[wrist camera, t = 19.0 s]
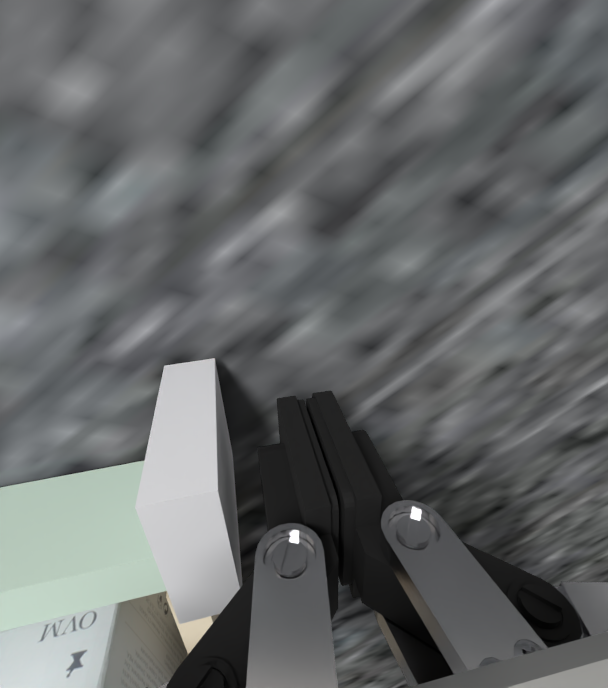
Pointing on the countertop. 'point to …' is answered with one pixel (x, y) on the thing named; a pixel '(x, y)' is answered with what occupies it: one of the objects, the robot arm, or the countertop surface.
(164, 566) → the gate
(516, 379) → the countertop surface
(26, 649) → the skincare box
